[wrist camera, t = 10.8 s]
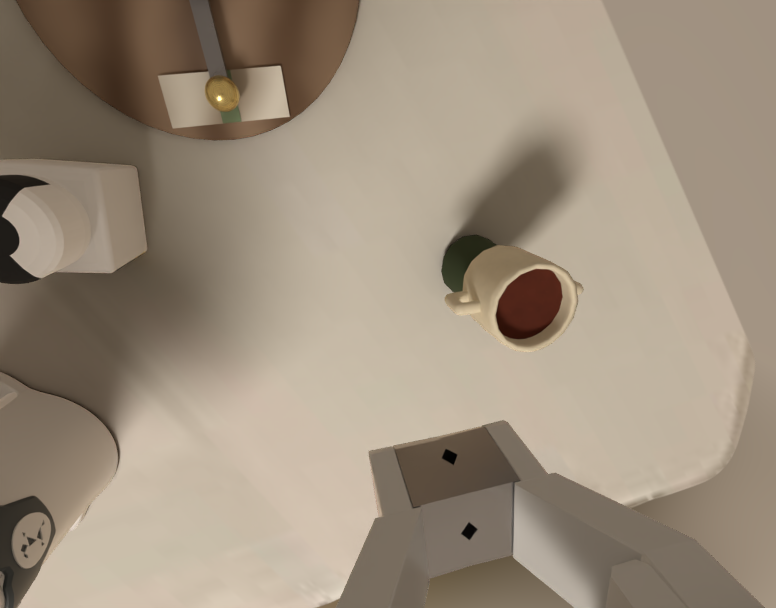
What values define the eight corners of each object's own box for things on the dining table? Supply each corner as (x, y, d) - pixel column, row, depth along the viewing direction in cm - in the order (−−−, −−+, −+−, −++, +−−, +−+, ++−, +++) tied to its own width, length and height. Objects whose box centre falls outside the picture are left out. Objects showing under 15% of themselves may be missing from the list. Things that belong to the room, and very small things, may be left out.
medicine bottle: (54, 249, 33) (-68, 296, 22) (35, 158, 31) (-112, 160, 20) (149, 251, 35) (78, 297, 24) (138, 165, 32) (54, 171, 21)
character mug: (419, 304, 42) (466, 365, 30) (414, 237, 39) (463, 274, 27) (516, 288, 43) (597, 339, 31) (517, 222, 41) (607, 251, 29)
